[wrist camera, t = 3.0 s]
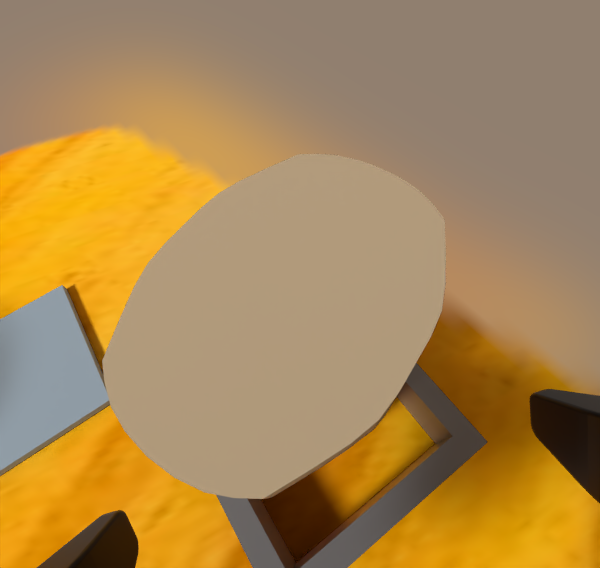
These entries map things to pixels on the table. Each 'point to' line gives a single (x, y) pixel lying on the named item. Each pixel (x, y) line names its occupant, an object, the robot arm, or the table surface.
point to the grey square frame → (385, 504)
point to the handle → (278, 324)
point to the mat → (45, 376)
